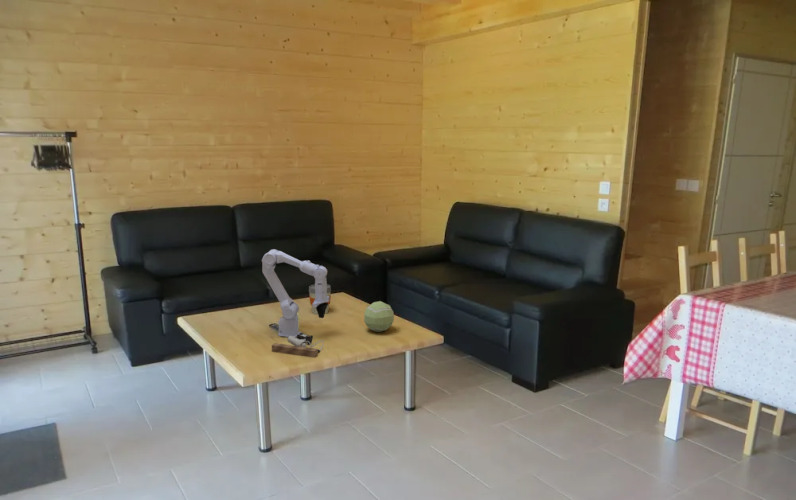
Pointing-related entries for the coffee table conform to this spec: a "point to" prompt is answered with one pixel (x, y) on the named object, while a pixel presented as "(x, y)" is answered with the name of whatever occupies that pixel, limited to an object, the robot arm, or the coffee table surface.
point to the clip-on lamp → (302, 340)
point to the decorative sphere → (378, 316)
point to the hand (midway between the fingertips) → (321, 317)
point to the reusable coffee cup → (312, 297)
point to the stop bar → (294, 350)
